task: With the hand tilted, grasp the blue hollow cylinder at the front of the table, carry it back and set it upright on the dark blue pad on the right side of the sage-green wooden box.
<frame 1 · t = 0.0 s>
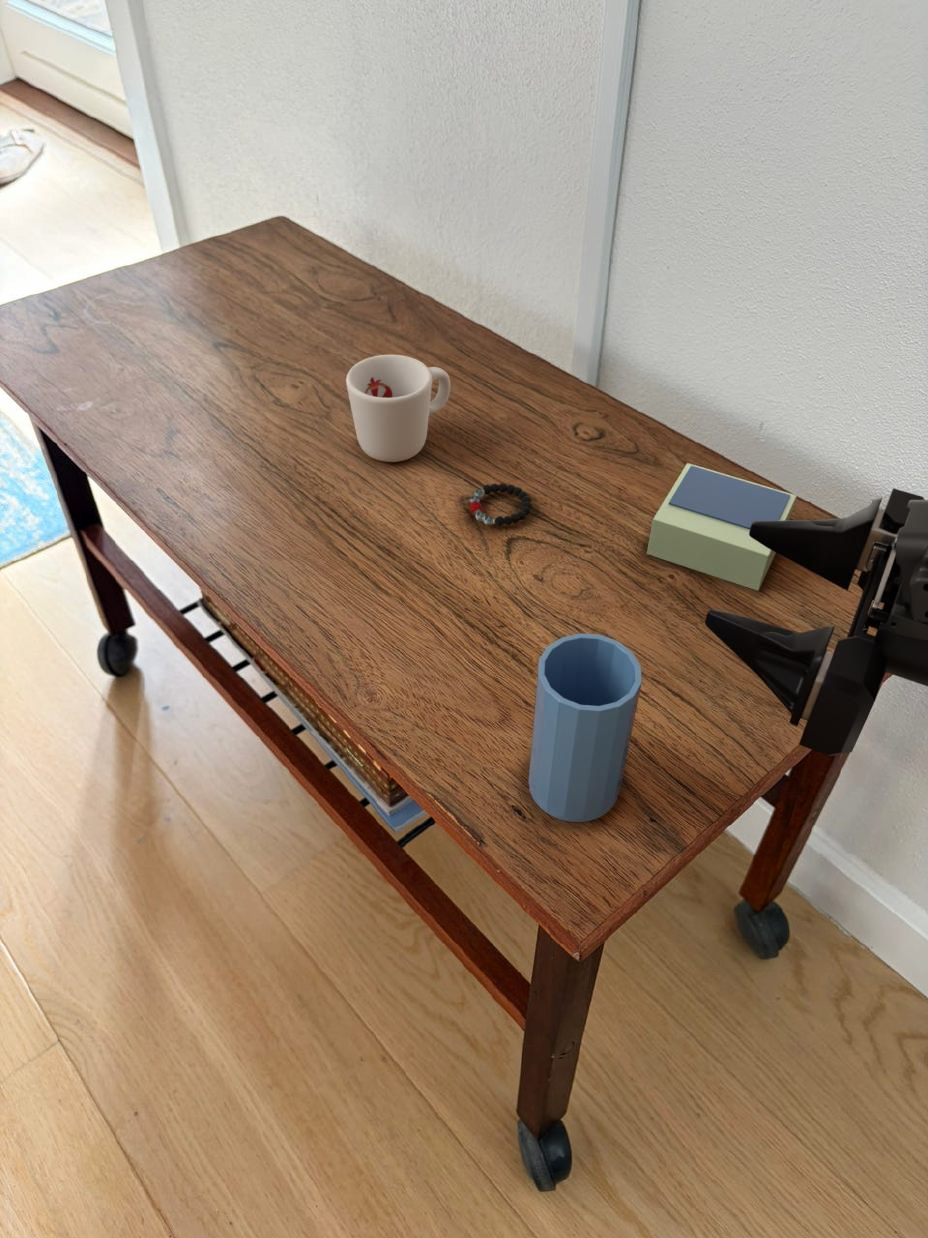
hand: (729, 570, 64), 16 cm above the table, tool horizontal, fingers open, 9 cm apart
box: (717, 542, 90), on the table
blue hollow cylinder: (573, 784, 72), on the table
cup: (404, 443, 101), on the table
bracelet: (500, 510, 93), on the table
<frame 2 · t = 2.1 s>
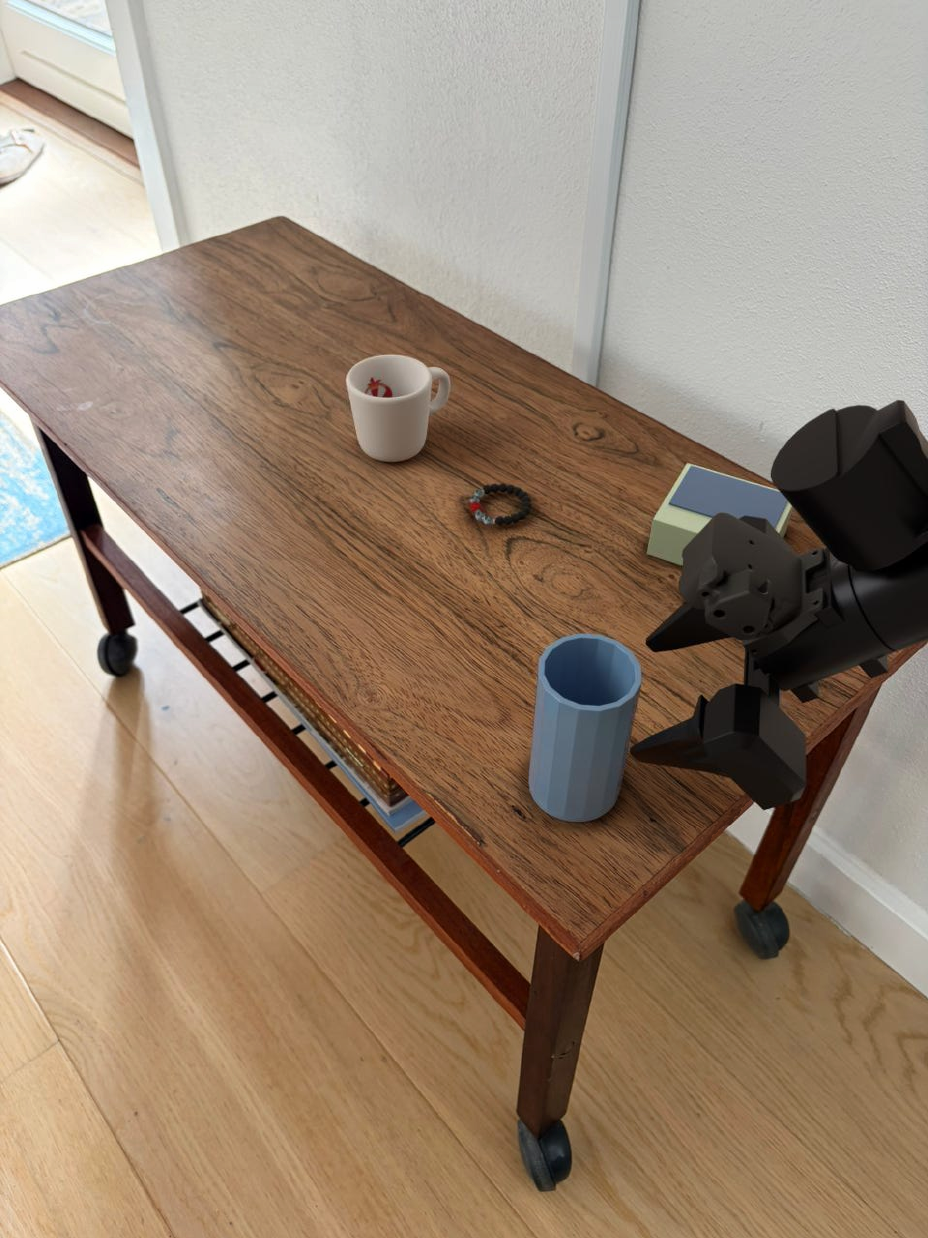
hand: (641, 698, 64), 10 cm above the table, tool tilted 45°, fingers open, 9 cm apart
nothing on the table moved.
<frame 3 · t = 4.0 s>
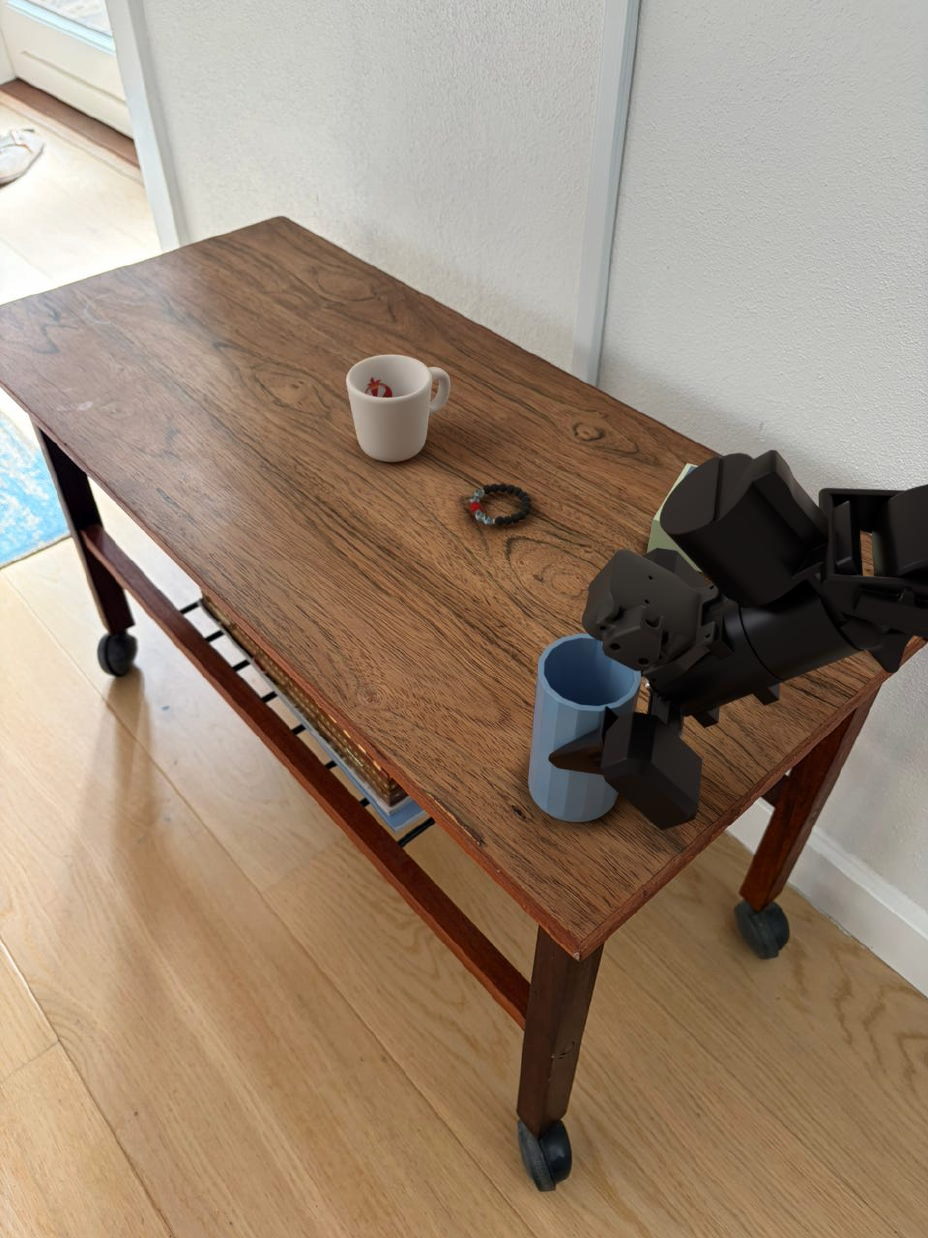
hand: (560, 721, 67), 7 cm above the table, tool tilted 45°, fingers closed on blue hollow cylinder, 6 cm apart
blue hollow cylinder: (573, 784, 72), on the table, touching gripper
everything else where it was.
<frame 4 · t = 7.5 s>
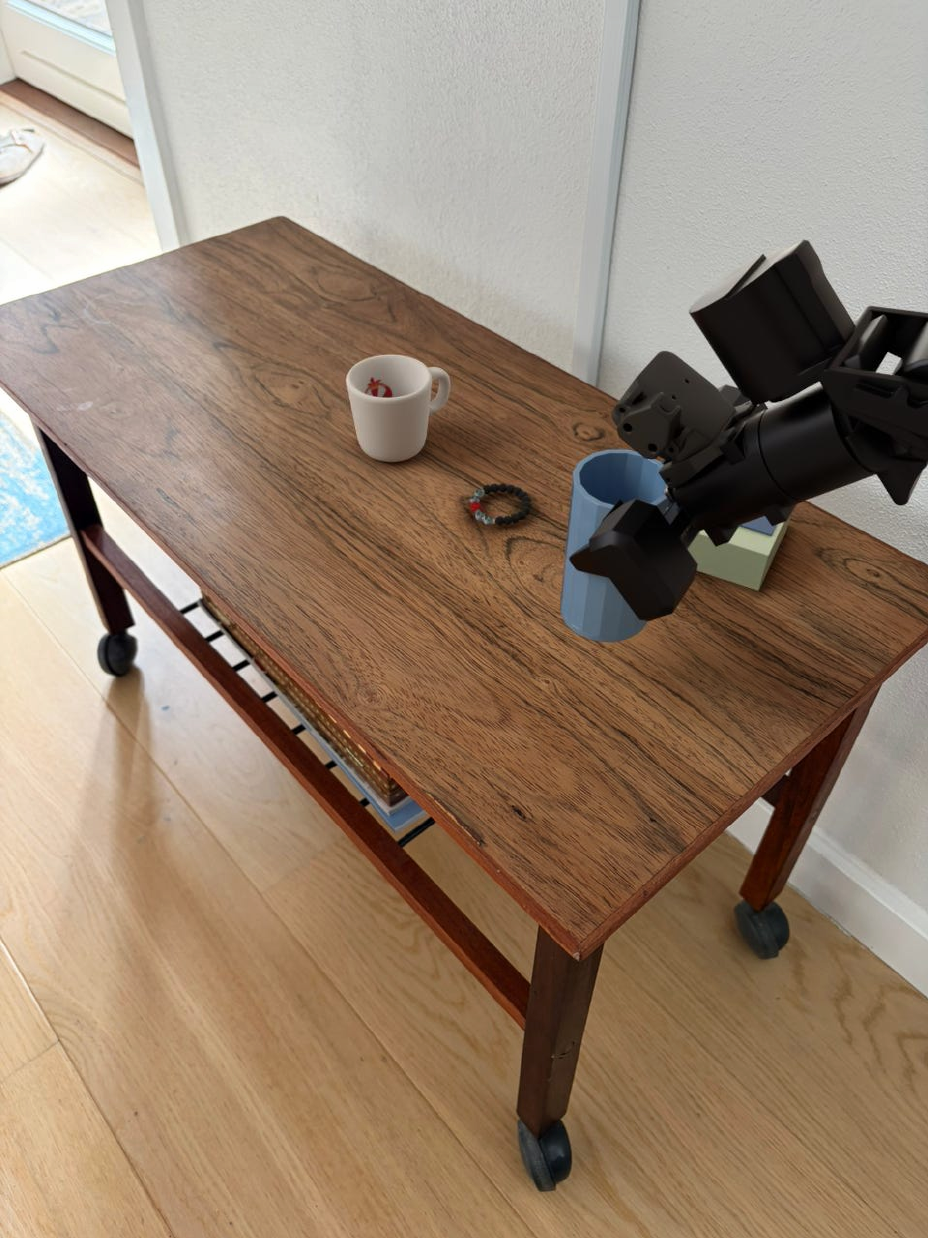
hand: (596, 534, 70), 14 cm above the table, tool tilted 45°, fingers closed on blue hollow cylinder, 6 cm apart
blue hollow cylinder: (604, 610, 74), point 7 cm above the table, touching gripper
everything else where it was.
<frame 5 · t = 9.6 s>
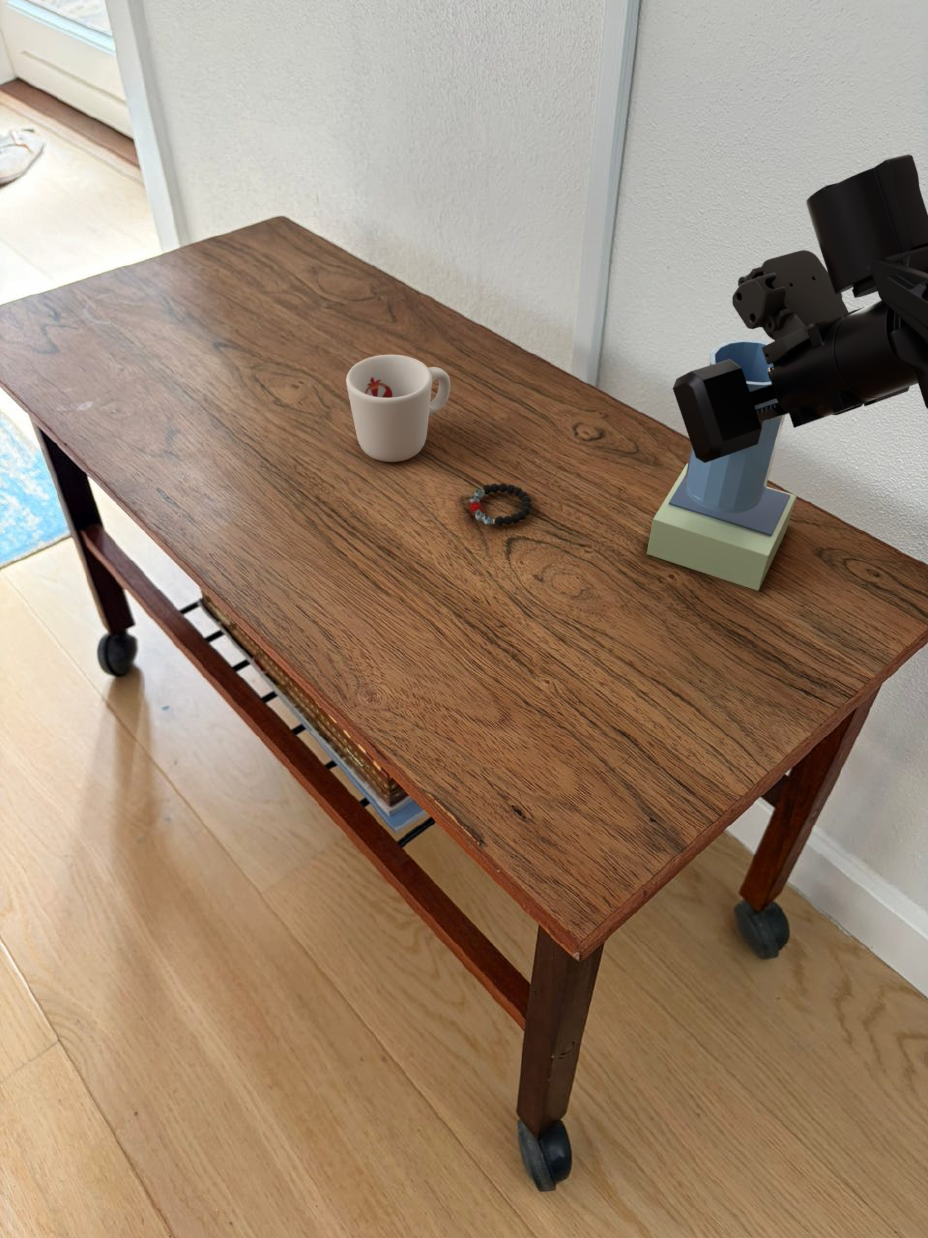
hand: (728, 413, 81), 13 cm above the table, tool tilted 45°, fingers closed on blue hollow cylinder, 6 cm apart
blue hollow cylinder: (723, 489, 85), point 7 cm above the table, touching gripper
everything else where it was.
when the fingers open (11 cm above the table, at t = 11.3 s): blue hollow cylinder stays where it is, resting on box.
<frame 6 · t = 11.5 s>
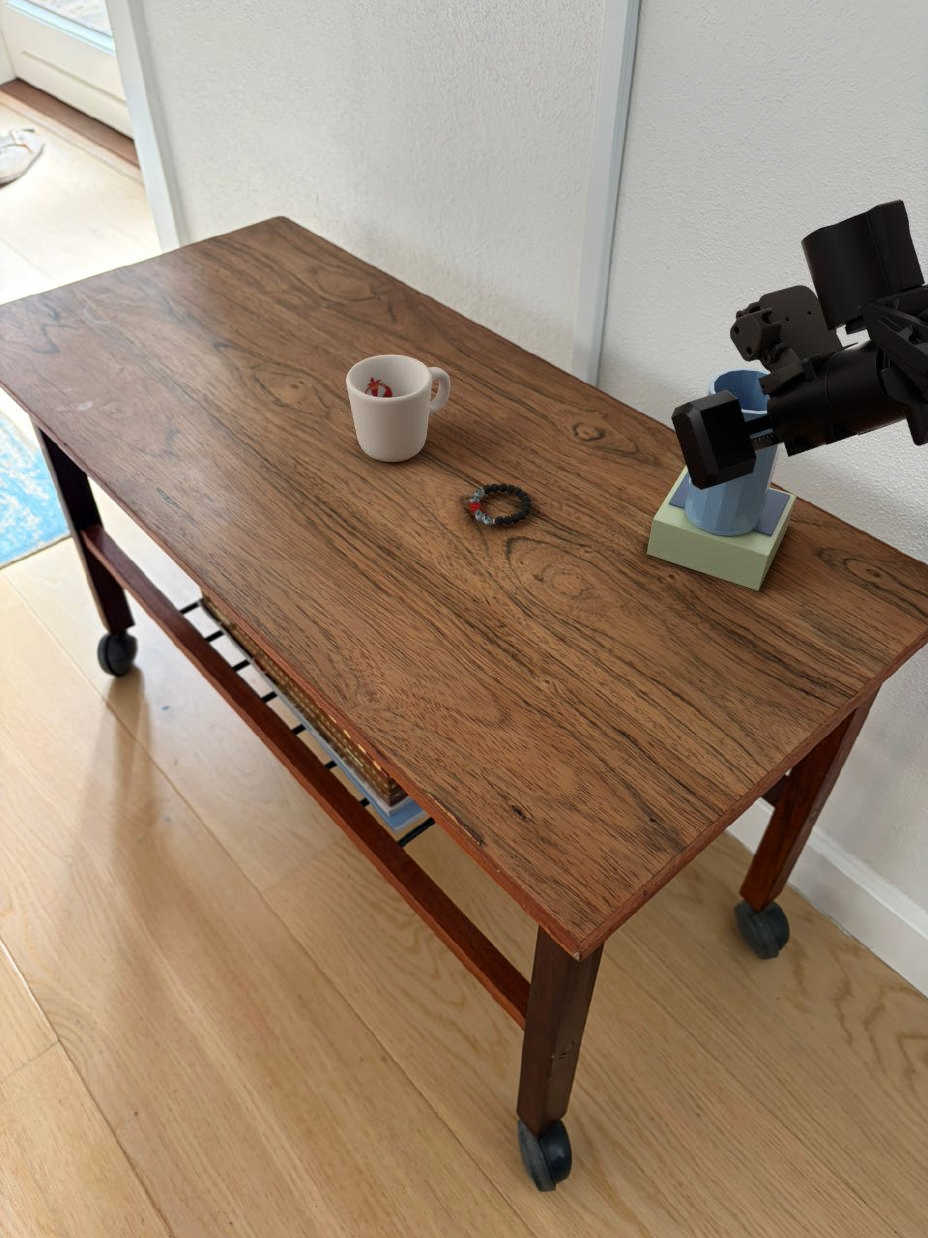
hand: (726, 438, 83), 11 cm above the table, tool tilted 45°, fingers open, 8 cm apart
blue hollow cylinder: (722, 511, 87), point 4 cm above the table, touching box
everything else where it was.
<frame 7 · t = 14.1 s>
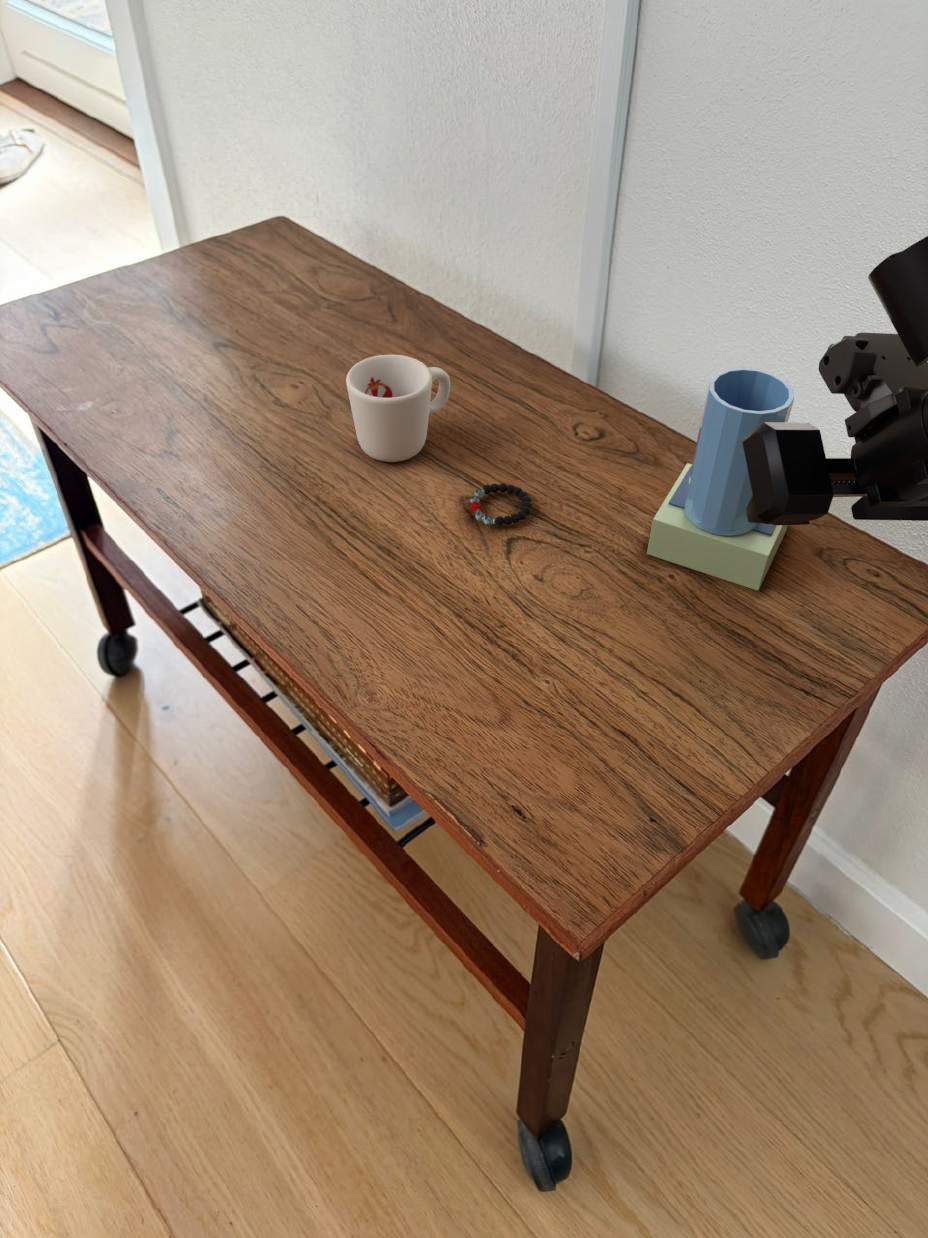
hand: (802, 514, 75), 12 cm above the table, tool tilted 35°, fingers open, 9 cm apart
nothing on the table moved.
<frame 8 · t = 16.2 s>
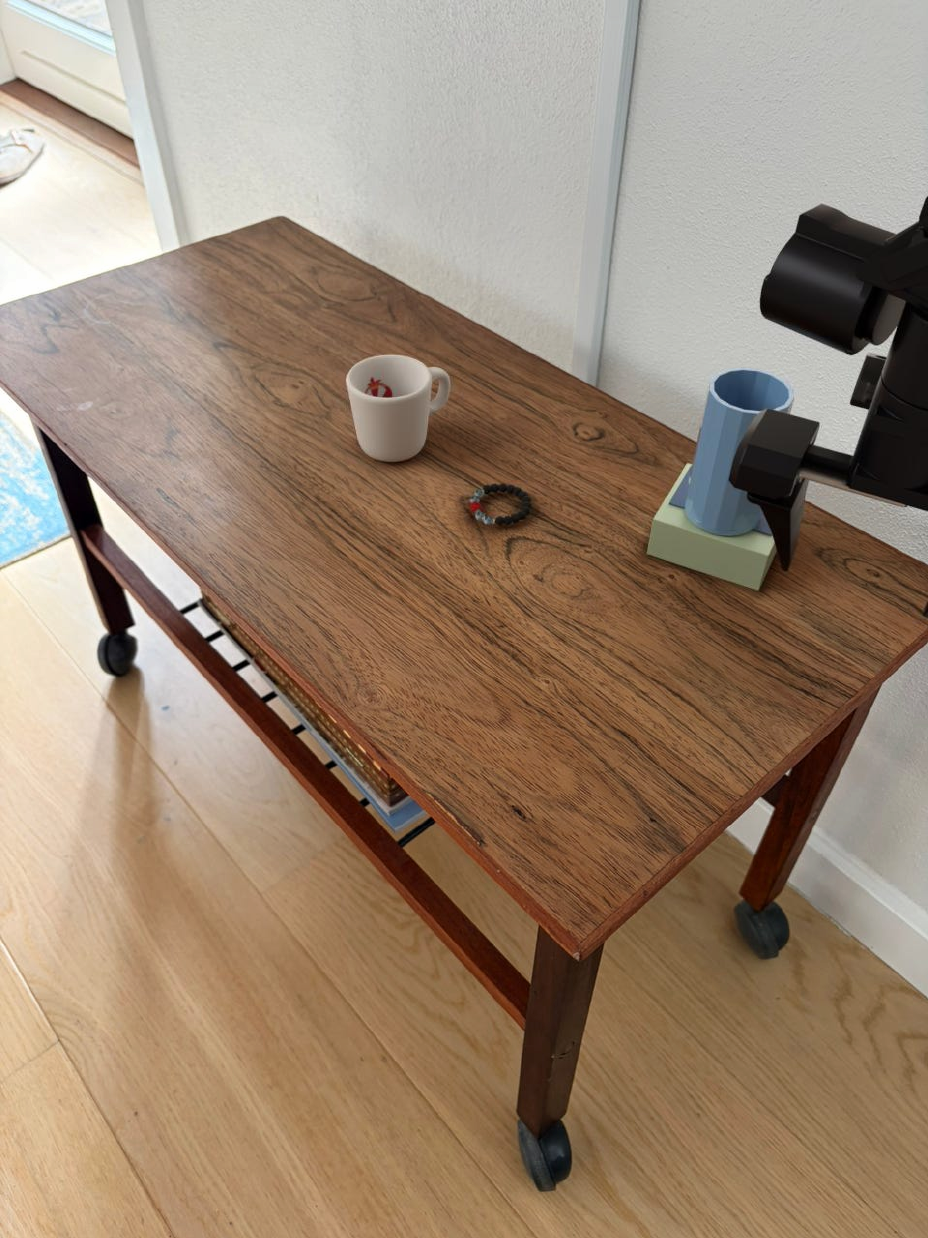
hand: (854, 589, 67), 13 cm above the table, tool pointing down, fingers open, 9 cm apart
nothing on the table moved.
at the end: blue hollow cylinder inside the target area on the box (1.9 cm from its centre), point 4.2 cm above the box's base; blue hollow cylinder tilted 0°; the gripper is holding nothing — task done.
